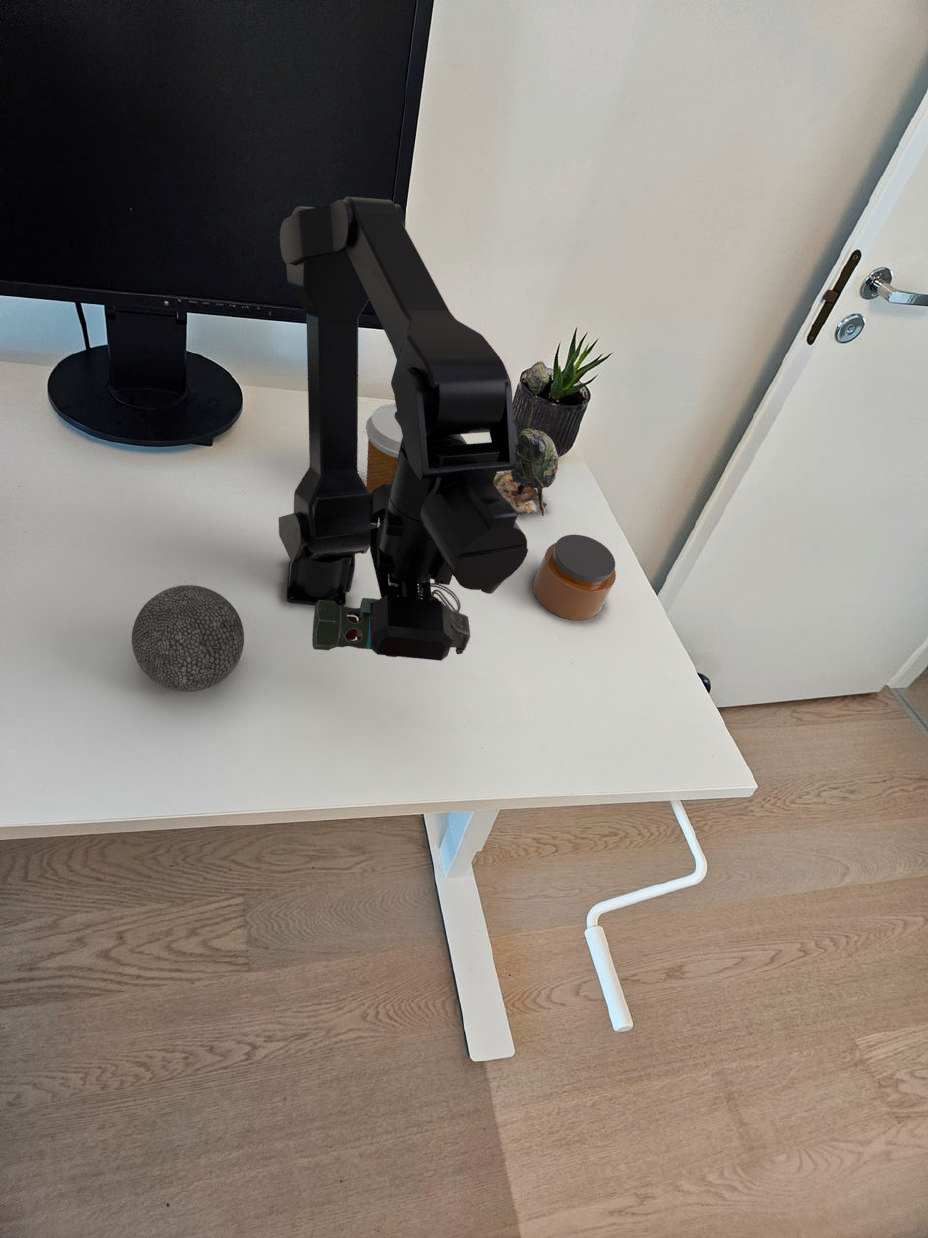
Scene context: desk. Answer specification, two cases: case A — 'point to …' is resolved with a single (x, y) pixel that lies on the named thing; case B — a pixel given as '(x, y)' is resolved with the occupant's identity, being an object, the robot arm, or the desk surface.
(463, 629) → the stun grenade
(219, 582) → the desk surface
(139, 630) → the decorative ball
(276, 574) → the desk surface
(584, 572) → the jar
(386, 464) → the disposable coffee cup
